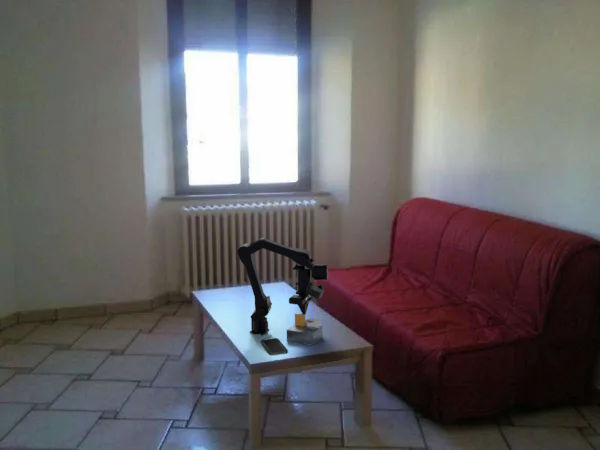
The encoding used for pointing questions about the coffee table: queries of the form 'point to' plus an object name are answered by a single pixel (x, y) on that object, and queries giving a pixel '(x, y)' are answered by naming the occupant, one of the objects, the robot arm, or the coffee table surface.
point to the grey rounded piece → (312, 324)
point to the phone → (273, 346)
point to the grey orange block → (300, 319)
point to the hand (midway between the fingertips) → (304, 314)
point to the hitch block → (303, 335)
